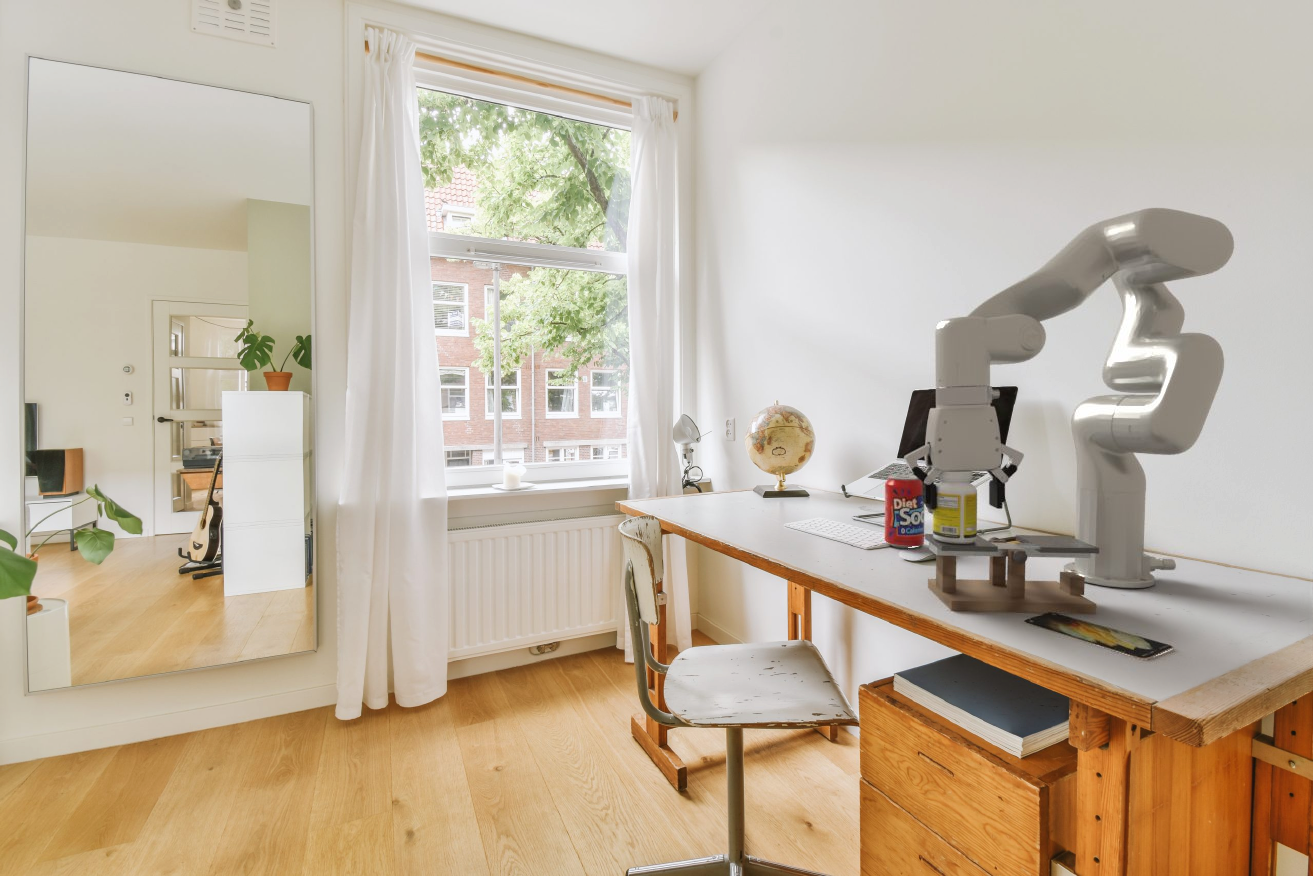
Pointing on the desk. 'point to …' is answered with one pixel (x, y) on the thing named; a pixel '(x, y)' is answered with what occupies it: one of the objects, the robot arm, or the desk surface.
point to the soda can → (904, 511)
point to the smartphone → (1099, 635)
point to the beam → (1017, 547)
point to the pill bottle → (955, 508)
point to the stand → (1009, 588)
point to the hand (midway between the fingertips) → (963, 507)
